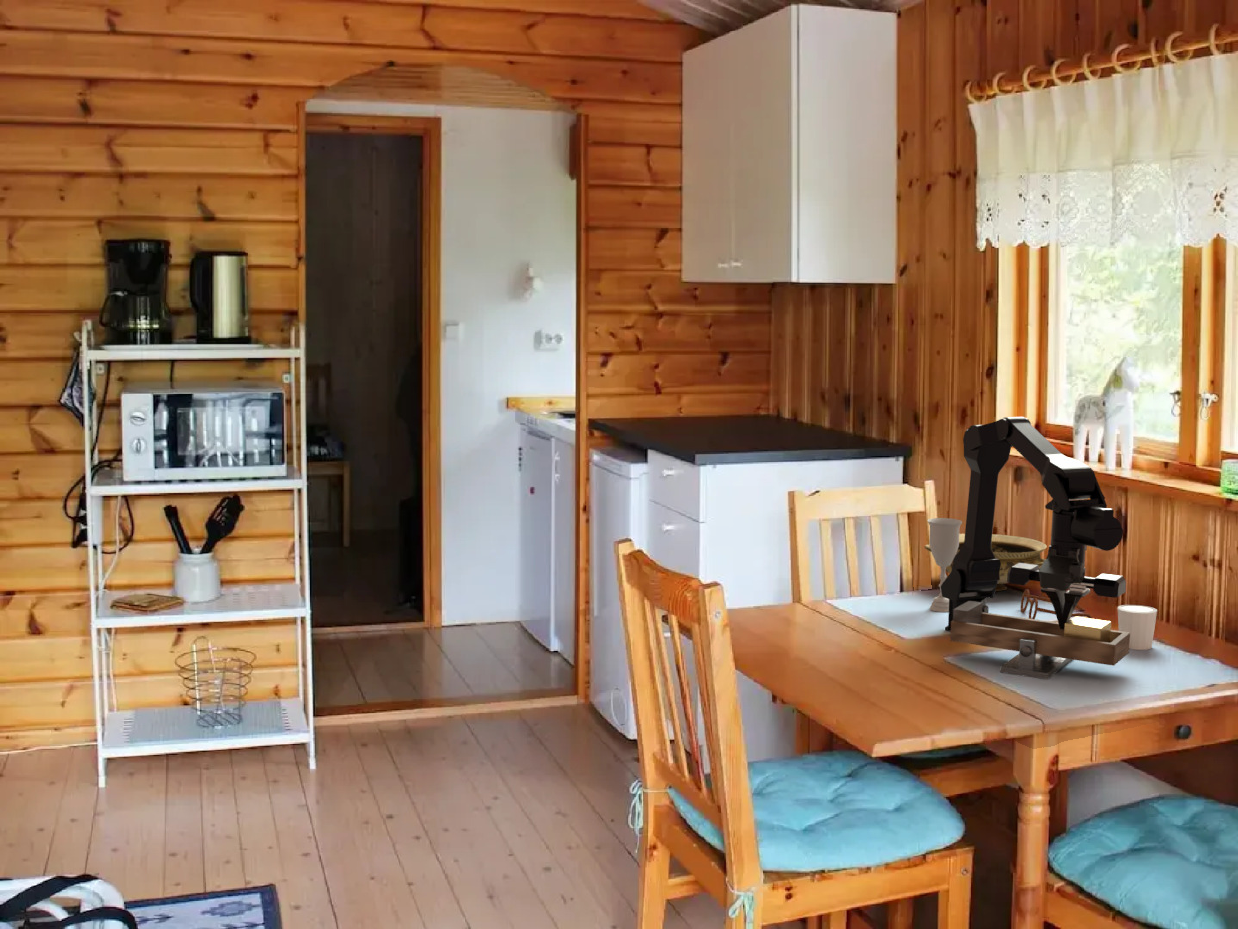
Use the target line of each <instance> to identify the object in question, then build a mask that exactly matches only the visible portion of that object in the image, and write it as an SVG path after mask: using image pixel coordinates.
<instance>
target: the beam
mask: <svg viewBox="0 0 1238 929" xmlns="http://www.w3.org/2000/svg"><path fill="white" fill-rule="evenodd" d="M982 604H983V603H982V602H975V601H968V602H966V603H964V604H962V605H960V606H959V607H957V608H955V609H954V610H953V621H951V631H950V635H949V636H950V637H949V638H950V642H953V643H954V642H955V643H960V644H961V643H962V644H966V645H967V644H969V645H974V646H981V647H988V648H994V649H1001V650H1007V651H1014V652H1019V648H1020V639H1022V638H1026V639H1033V640H1036V654H1039V655H1046V656H1053V657H1059V658H1066V659H1072V660H1075V661H1079V662H1080V661H1081V662H1087V663H1094V664H1100V665H1106V666H1113V667H1114V666H1115V665H1117V664H1118V663H1119V662H1120V661H1121V660H1123V658H1125V657H1126V656H1127V655H1128V654H1129V653H1130V649H1129V643H1130V633H1129V632H1122V631H1119V630H1114V629H1111V636H1110V643H1108V642H1101V641H1094V640H1087V639H1080V638H1073V637H1066V636H1064V630H1065V629H1064V630H1062V629H1060V627H1059V623H1058V621H1057V622H1056V621H1049V620H1040V619H1036V618H1035V619H1029V617H1027V618H1026V617H1018V616H1011V615H1007V614H1006V615H1005V614H1000V613H999V614H998V613H991V612H988V613H984V612H982Z"/></svg>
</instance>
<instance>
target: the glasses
mask: <svg viewBox="0 0 1238 929" xmlns="http://www.w3.org/2000/svg"><path fill="white" fill-rule="evenodd" d="M1025 598H1026V599H1025ZM1025 600H1026V601H1025ZM1039 601H1041V602H1047V603H1051V604H1052V602H1051V600H1050V598H1049V597H1048V598H1047V597H1042V596H1038V595H1035V594H1033V595H1032V594H1030V589H1028V588H1025V590H1024V591H1023V593H1022V596H1021V602H1020V612H1021V613H1026V611H1027V608H1028V605H1029V604H1030V606H1029V612H1028V619H1035V620H1036V616H1037V615H1038V614H1037V613H1038V612H1041V613H1047V614H1052V615H1055V616H1056V613H1055V610H1053V609H1047V608H1043V607H1039ZM1024 603H1025V604H1024ZM1034 605H1035V606H1034ZM1033 607H1034V612H1033ZM1075 608H1077V609H1078V610H1079V611H1081V610H1086V609H1085V608H1083V606H1081V605H1080V604H1078V603H1077V605H1076V607H1075ZM1032 613H1033V616H1032ZM1076 616H1077V617H1084V618H1091V619H1094V618H1093V617H1092V616H1091V615H1090V614H1089V613H1083V612H1082V613H1081V612H1076V613H1074V612H1073V613H1072V615H1071V618H1074V617H1076Z"/></svg>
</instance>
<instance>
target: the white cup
mask: <svg viewBox="0 0 1238 929" xmlns="http://www.w3.org/2000/svg"><path fill="white" fill-rule="evenodd" d="M1157 615H1158V609H1157V608H1154V607H1151V606H1147V605H1140V604H1122V605H1118V606H1117V618H1118V619H1117V620H1118V621H1117V622H1118V623H1117V624H1118V631H1122V632H1129V633H1130V643H1129V650H1137V651H1142V650H1143V651H1147V650H1151V649H1152V647H1153V642H1154V634H1155V626H1156V621H1157Z"/></svg>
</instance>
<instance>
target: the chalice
mask: <svg viewBox="0 0 1238 929" xmlns="http://www.w3.org/2000/svg"><path fill="white" fill-rule="evenodd" d="M927 523H928V525H929V539H928V540H929V541H928V542H929V543H928V545H930V548H931V552H930V553H931V554H932V557H933V559H934V561H935V564H936V565H937V566H938V567H940V574H939V578H940V583H939V584H938V587H939V590H940V592H939V594H938V595H937V596H935V597H934V598H933V599H932V602H931V603H930V604H931V605H930V606H929V610H931V611H934V612H940V613H949V599H947V598H945V597H942V592H941V585H942V583H943V582H944V581H945V579H946V578H947V577H948V575H947V572H946V571H945V570H946V567H947V566H950V565H951V563H952V561H953V559H954V557H955V555H956V553H957V550H958V547H959V534H960V527H961V525H962V523H963V521H962V520H960V519H956V518H949V517H948V518H947V517H934V518H929V519H927Z"/></svg>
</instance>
